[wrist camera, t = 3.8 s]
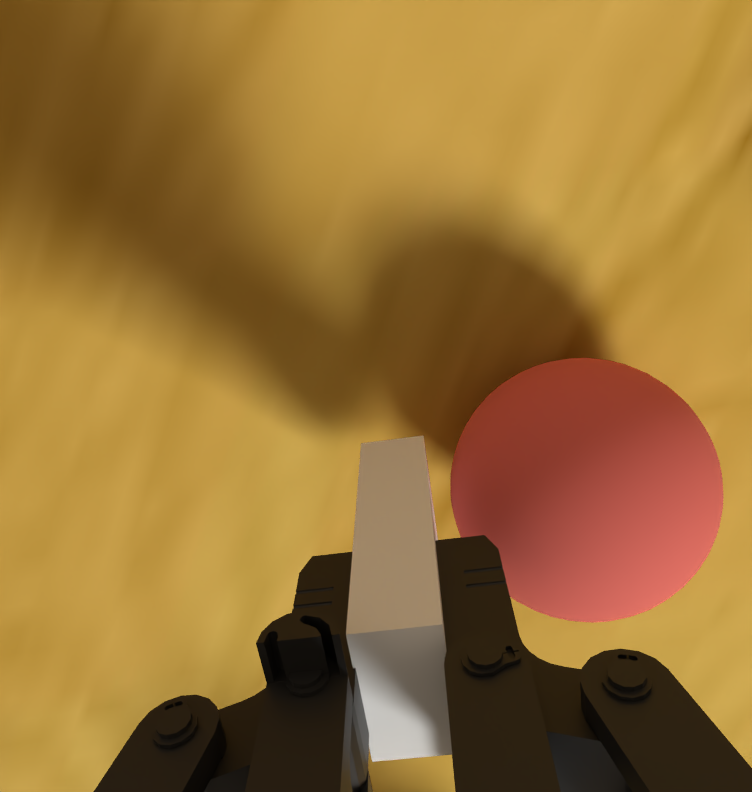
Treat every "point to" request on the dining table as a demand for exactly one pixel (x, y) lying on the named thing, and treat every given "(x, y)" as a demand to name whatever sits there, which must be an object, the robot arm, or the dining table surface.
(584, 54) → the dining table surface
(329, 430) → the dining table surface
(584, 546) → the ball
